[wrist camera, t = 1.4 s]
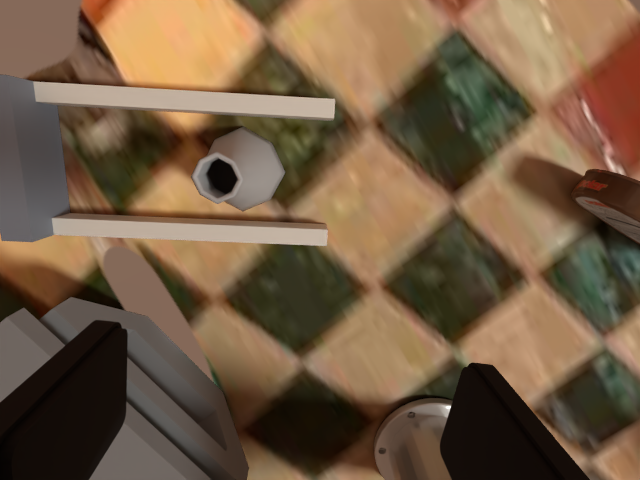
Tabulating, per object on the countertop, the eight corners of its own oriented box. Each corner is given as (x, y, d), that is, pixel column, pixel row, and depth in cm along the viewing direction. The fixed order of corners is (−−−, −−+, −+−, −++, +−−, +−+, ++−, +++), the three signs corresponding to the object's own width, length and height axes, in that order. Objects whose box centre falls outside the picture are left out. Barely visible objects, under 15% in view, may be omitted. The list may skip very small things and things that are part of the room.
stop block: (55, 86, 31) (7, 74, 26) (72, 228, 34) (32, 241, 29) (26, 85, 30) (-28, 73, 26) (46, 227, 34) (1, 240, 29)
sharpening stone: (42, 312, 36) (-70, 380, 25) (98, 266, 35) (6, 317, 24) (210, 468, 41) (176, 578, 30) (262, 432, 40) (247, 533, 30)
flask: (299, 173, 33) (295, 182, 23) (243, 224, 34) (217, 253, 24) (244, 111, 32) (216, 94, 22) (187, 166, 33) (136, 173, 23)
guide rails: (333, 103, 32) (335, 99, 29) (325, 239, 35) (326, 245, 32) (55, 86, 31) (33, 81, 28) (72, 228, 34) (54, 234, 31)
